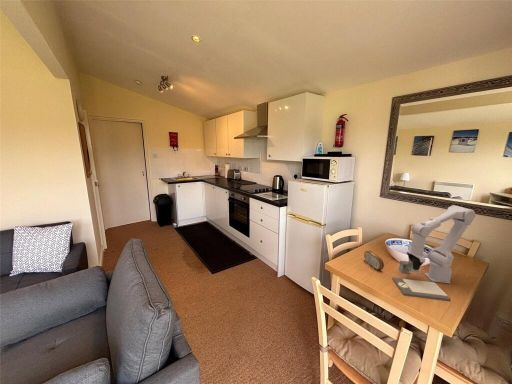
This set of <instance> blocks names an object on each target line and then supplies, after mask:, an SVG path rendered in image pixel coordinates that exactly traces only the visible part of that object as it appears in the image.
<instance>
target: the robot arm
mask: <svg viewBox="0 0 512 384" xmlns="http://www.w3.org/2000/svg"><path fill="white" fill-rule="evenodd" d="M475 218H476V211H475V210H474V209H470V208H466V207H462V206H459V205H456V204H452V205H451V206H447V209H446V211H444V212H442V214H440V215H438V216H436V217H429V218H427V219H426V220H424V221H423V222H420V223H414V224H413V225H412V226H411V228H410V230H411V235H412V239H411V245H410V246H408V247H407V250H408V251H407V252H406V254H407V258H408V259H409V258H410V259H413V269H414V270H419V271H420V268H421V266H422V265H423V264H425V263H426V260H427V259H428V260H429V263H430V264H429V268H428V272H424V275H425V276H426V277H427V278H428V279H429V280H430V281H431V282H434V283H435V282H437V283H444V284H451V277H452V274H453V269H452V267H451V266H452V264H453V260H454V259H455V256H454V254H453V253H452V251H453V250H454V248H455V247H456V246H457V243H458V242H459V240H460V239H461V238H462V236H463V235H464V233H465V231H466V230H467V229H468V227H469V226H470V225H471V224H472V223H473V221H474V220H475ZM449 220H452V221H453V222H454V224H453V225H452V227H451V228H450V230H449V231H448V233H447V235H446V236H445V238H444V239H443V241H442V242H441V244H440V245H439V246H438V247H437V246H436V247H433V248H432V250H431V251H429V252H428V254H427V259H426V257H425V256H424V250H425V245H426V240H427V237H429V236H430V234H431V233H432V231H435V230H436V229H438V228H440V227H441V224H442V223H445V222H448V221H449Z"/></svg>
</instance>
